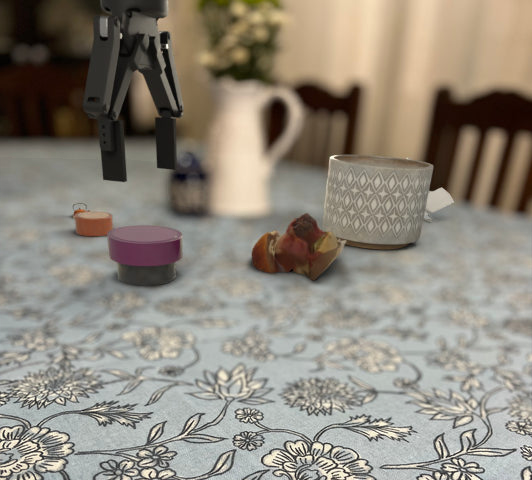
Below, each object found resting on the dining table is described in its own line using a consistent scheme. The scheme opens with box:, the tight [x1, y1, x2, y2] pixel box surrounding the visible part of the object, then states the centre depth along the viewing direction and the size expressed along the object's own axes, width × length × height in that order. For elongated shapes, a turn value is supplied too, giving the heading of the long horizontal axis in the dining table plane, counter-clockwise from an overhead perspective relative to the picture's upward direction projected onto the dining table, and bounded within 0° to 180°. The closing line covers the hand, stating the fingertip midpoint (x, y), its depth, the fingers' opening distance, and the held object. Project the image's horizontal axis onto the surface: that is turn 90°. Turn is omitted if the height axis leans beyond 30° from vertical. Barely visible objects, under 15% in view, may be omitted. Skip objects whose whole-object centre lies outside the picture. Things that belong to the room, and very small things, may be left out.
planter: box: [322, 154, 434, 250], centre depth 97 cm, size 19×19×14 cm
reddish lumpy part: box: [251, 212, 346, 281], centre depth 82 cm, size 16×13×10 cm
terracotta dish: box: [74, 211, 114, 237], centre depth 92 cm, size 6×6×3 cm
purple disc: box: [106, 224, 184, 266], centre depth 71 cm, size 10×10×3 cm
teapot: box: [72, 202, 91, 219], centre depth 102 cm, size 3×3×3 cm
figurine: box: [406, 157, 455, 223], centre depth 120 cm, size 15×12×14 cm
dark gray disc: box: [116, 262, 177, 287], centre depth 72 cm, size 8×8×3 cm
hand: (143, 174), depth 67 cm, fingers open, 13 cm apart
